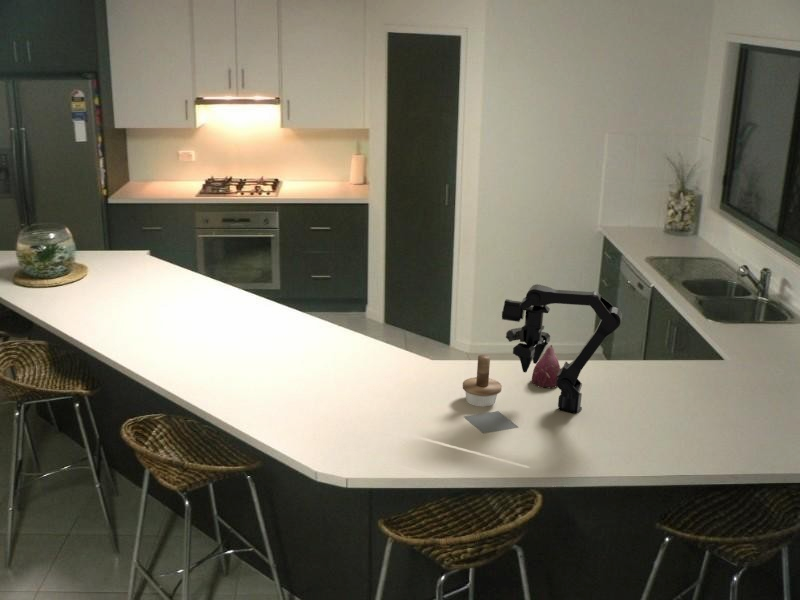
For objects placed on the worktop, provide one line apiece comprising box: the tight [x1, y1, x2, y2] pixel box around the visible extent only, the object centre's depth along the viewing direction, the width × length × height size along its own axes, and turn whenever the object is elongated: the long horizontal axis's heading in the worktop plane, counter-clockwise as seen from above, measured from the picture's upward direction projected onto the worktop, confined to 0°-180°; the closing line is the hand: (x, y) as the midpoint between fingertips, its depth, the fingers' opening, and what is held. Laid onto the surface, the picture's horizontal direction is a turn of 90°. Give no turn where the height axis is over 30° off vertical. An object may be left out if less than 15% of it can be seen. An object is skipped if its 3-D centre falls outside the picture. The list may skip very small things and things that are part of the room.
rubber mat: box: [463, 410, 519, 434], centre depth 322 cm, size 13×13×1 cm
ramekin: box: [464, 391, 498, 407], centre depth 337 cm, size 11×11×5 cm
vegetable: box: [531, 344, 561, 388], centre depth 355 cm, size 10×10×15 cm
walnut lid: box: [462, 354, 503, 396], centre depth 334 cm, size 13×13×11 cm
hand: (529, 367), depth 333 cm, fingers open, 9 cm apart
